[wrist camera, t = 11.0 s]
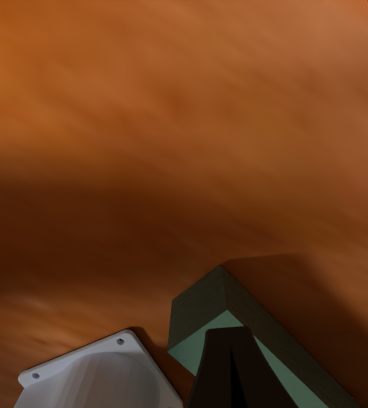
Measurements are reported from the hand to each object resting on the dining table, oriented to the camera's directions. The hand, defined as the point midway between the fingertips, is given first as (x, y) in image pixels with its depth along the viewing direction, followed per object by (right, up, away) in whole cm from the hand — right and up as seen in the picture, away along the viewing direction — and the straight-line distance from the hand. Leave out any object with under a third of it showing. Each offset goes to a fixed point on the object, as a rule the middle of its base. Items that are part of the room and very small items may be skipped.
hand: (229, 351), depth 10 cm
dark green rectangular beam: (+4, -6, +12) cm, 14 cm away
